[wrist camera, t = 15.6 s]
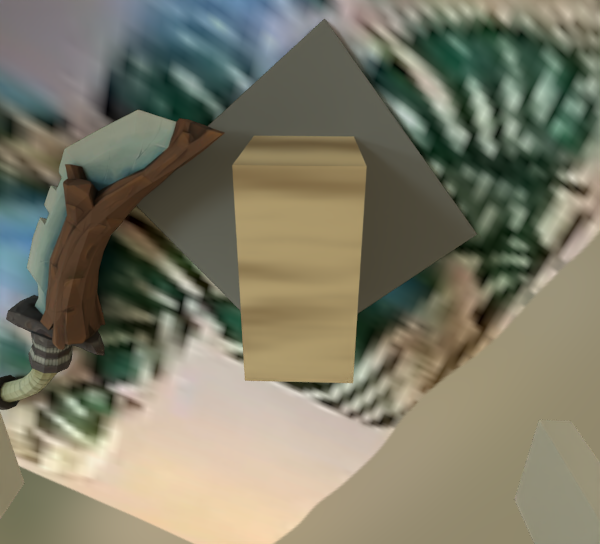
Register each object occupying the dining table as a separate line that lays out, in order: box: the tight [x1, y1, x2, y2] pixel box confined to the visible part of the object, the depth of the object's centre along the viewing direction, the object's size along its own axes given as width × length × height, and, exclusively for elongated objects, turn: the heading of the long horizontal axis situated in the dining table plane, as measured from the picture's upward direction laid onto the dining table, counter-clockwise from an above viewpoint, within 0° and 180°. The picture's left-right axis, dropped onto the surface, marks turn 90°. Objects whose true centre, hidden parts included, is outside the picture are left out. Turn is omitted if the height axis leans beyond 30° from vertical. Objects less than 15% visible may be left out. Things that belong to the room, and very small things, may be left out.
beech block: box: [232, 136, 367, 383], centre depth 27 cm, size 8×6×12 cm
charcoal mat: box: [136, 19, 477, 314], centre depth 30 cm, size 16×16×1 cm
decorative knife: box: [0, 110, 224, 410], centre depth 31 cm, size 4×9×30 cm
